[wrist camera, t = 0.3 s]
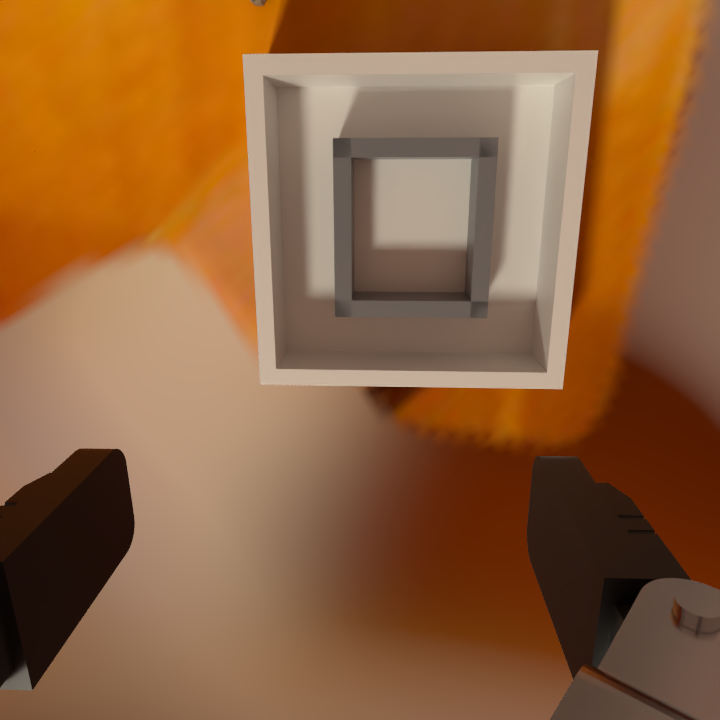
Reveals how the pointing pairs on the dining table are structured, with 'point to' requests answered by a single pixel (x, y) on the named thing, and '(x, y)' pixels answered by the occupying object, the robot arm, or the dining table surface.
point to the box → (416, 215)
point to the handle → (258, 2)
